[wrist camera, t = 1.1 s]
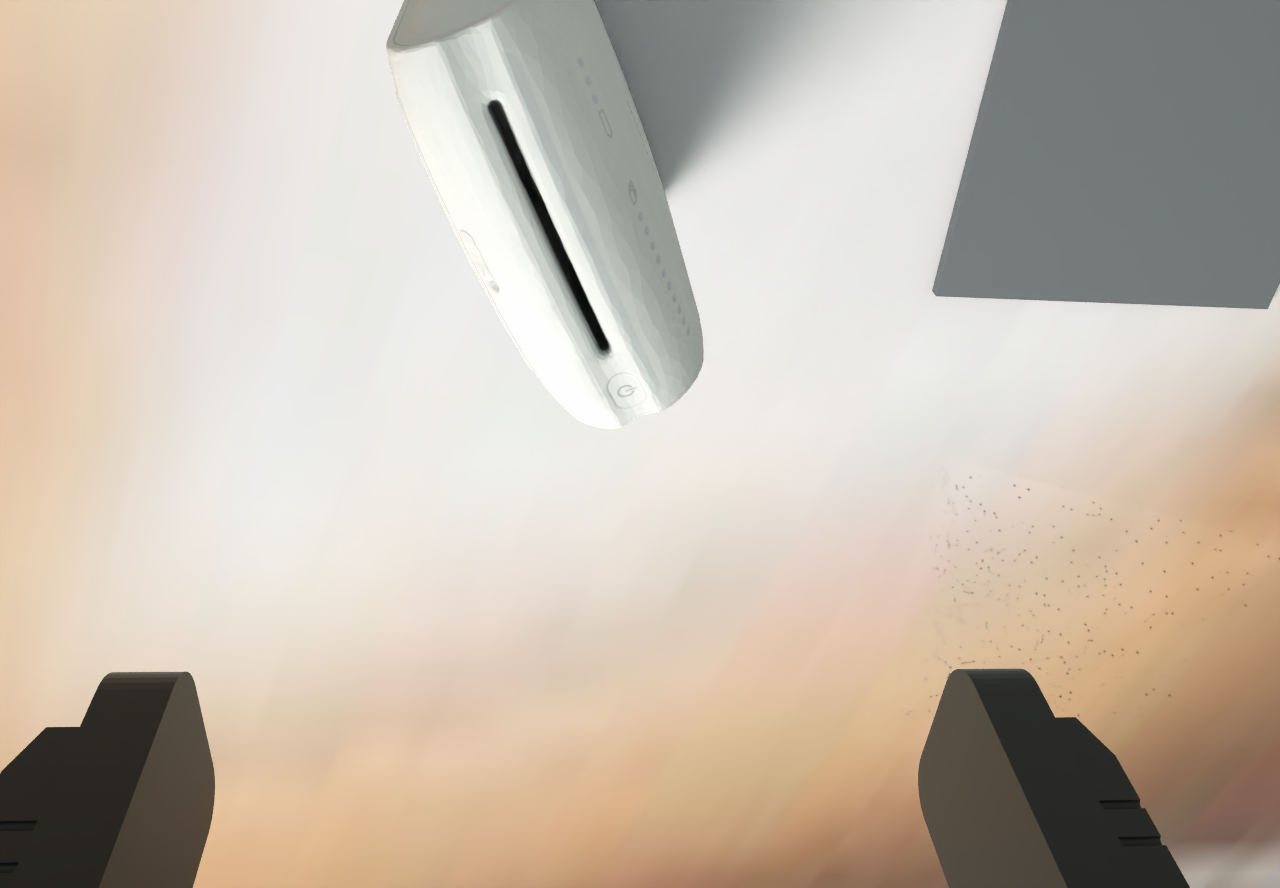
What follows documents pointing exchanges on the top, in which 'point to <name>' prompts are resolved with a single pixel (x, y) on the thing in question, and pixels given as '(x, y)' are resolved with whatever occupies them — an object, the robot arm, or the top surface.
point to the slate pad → (1124, 157)
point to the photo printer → (552, 196)
